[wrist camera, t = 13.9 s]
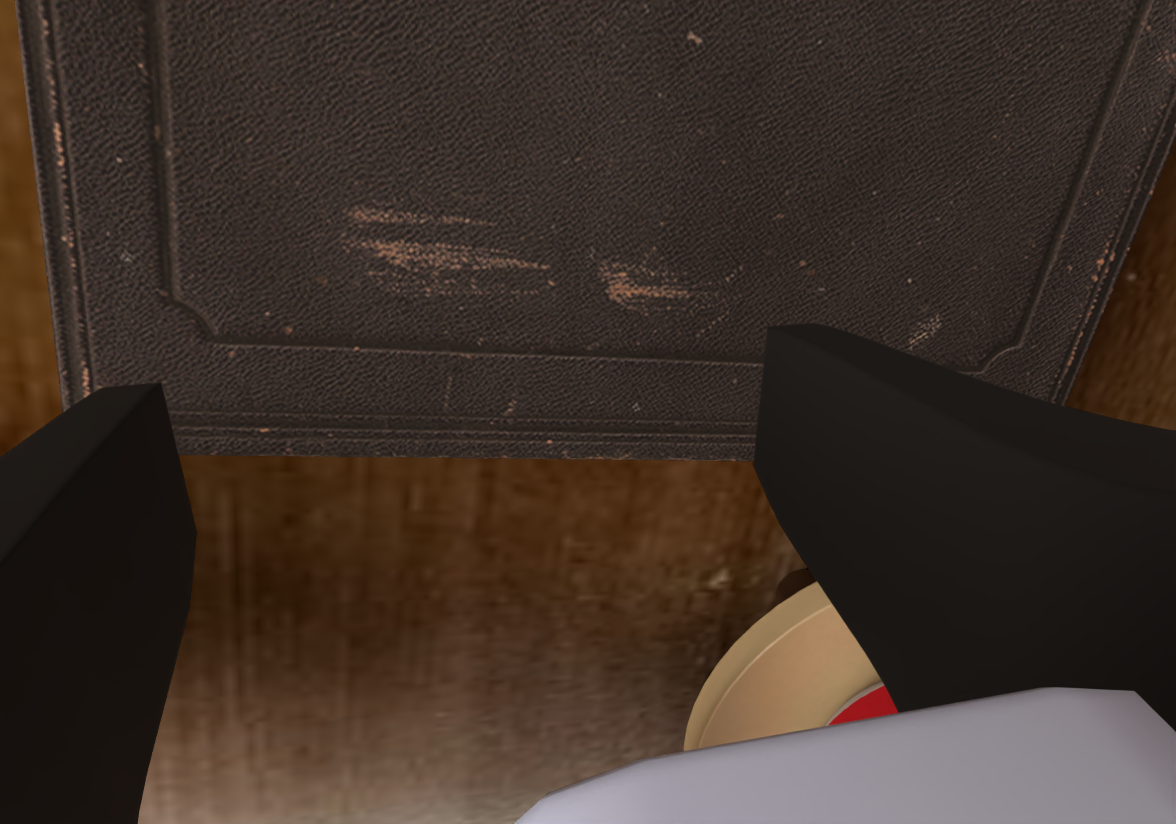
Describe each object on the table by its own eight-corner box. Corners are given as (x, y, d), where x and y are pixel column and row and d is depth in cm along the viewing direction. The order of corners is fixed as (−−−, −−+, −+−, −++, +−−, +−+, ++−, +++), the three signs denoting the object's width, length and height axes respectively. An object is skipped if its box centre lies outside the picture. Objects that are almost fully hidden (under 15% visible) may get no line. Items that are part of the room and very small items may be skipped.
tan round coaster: (655, 825, 32) (682, 907, 30) (672, 534, 27) (707, 605, 24) (976, 763, 35) (1027, 834, 32) (1056, 484, 29) (1126, 542, 26)
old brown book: (991, 423, 27) (1042, 465, 25) (92, 401, 21) (66, 455, 19) (1249, -256, 20) (1349, -271, 18) (-7, -583, 14) (-64, -660, 12)
